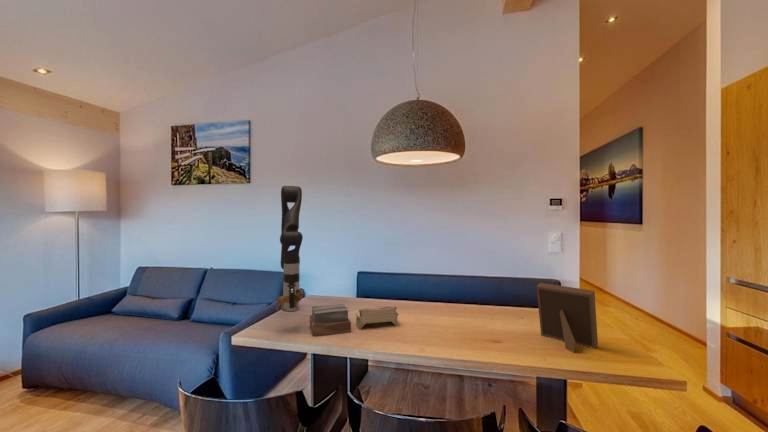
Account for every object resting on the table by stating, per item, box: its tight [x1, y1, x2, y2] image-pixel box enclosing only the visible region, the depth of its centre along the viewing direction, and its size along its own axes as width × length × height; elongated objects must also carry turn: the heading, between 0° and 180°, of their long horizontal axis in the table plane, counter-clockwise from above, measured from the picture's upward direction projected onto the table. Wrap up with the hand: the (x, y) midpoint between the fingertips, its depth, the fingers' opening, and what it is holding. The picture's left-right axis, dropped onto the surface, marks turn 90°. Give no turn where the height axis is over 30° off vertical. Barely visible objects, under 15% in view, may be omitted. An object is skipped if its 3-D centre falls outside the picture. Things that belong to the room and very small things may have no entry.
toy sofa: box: [354, 305, 399, 330], centre depth 166 cm, size 21×9×10 cm, turn 106°
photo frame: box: [536, 282, 599, 353], centre depth 141 cm, size 15×22×25 cm
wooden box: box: [309, 303, 352, 337], centre depth 161 cm, size 16×18×10 cm
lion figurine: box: [273, 288, 304, 312], centre depth 158 cm, size 15×5×9 cm, turn 127°
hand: (291, 306), depth 159 cm, fingers closed on lion figurine, 4 cm apart
